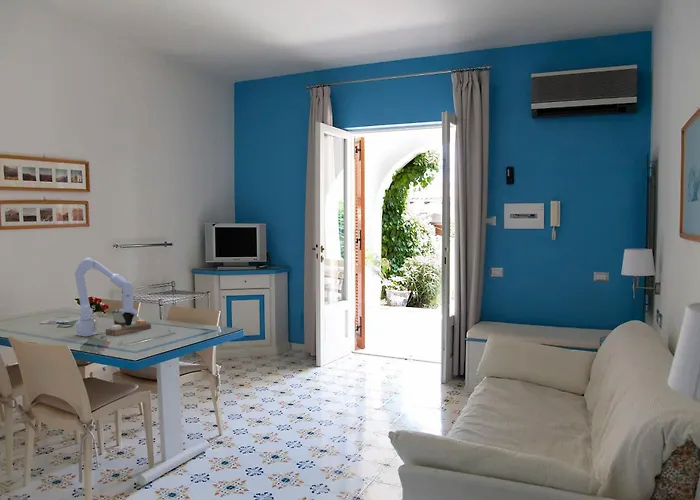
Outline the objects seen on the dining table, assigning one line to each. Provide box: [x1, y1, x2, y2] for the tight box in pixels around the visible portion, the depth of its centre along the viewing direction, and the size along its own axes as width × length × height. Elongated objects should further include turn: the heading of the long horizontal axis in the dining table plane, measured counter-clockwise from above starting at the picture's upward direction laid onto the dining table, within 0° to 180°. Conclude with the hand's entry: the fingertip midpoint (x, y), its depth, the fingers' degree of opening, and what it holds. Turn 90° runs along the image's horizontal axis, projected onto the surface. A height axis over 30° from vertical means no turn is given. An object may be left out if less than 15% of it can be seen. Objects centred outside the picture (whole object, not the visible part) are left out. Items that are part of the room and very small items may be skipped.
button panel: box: [105, 322, 152, 337], centre depth 334 cm, size 9×24×3 cm, turn 148°
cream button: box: [110, 325, 121, 330], centre depth 327 cm, size 4×4×3 cm
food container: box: [111, 308, 126, 326], centre depth 352 cm, size 12×6×10 cm, turn 84°
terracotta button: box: [135, 319, 147, 325], centre depth 341 cm, size 4×4×3 cm
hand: (128, 325), depth 334 cm, fingers closed, pressing on sage button
